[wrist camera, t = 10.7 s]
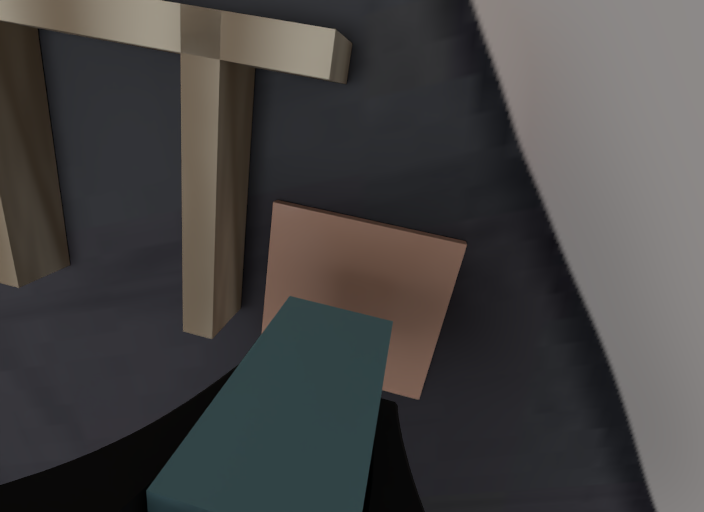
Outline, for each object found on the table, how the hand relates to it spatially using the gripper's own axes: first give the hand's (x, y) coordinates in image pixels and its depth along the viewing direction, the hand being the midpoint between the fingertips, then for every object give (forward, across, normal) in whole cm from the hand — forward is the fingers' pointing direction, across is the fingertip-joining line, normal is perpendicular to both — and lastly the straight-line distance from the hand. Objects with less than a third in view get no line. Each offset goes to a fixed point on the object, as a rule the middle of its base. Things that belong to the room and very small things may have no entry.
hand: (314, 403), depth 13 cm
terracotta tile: (+7, 0, 0) cm, 7 cm away
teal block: (+2, 0, 0) cm, 3 cm away
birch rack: (+7, +12, -5) cm, 15 cm away
